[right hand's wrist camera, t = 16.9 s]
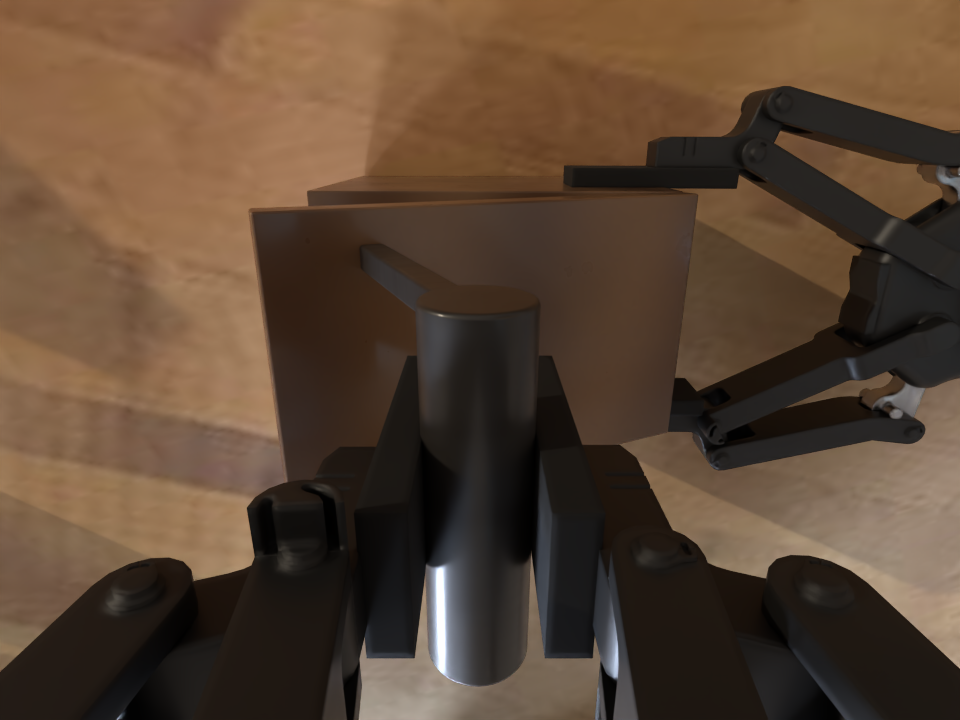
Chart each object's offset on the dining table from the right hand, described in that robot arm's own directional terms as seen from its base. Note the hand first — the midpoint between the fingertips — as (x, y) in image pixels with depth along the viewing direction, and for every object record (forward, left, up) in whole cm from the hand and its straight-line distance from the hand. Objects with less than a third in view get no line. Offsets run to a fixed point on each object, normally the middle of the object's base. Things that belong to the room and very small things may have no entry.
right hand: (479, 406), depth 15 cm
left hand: (+2, -3, -12) cm, 12 cm away
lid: (0, 0, -5) cm, 5 cm away
